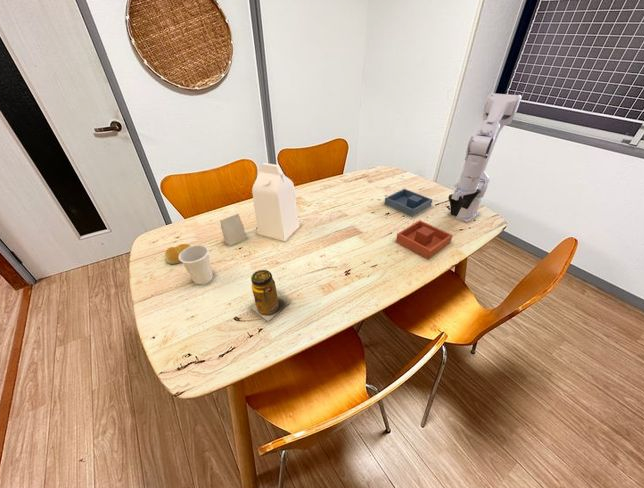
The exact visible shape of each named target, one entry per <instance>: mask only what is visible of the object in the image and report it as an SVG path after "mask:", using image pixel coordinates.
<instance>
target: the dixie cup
mask: <svg viewBox="0 0 644 488" xmlns="http://www.w3.org/2000/svg"><path fill="white" fill-rule="evenodd" d="M179 260H180V261H181V262H180V263H181V264H182V265H183V266H184V268H185V269H186V271H187V273H188V274H189V276H190V277H191V279H192V280H193V282H194V283H195V284H196V285H205V284H207V283H209V282H210V281H212V279H213V278H214V276H213V275H214V274H213V269H212V265H211V260H210V250H209V248H208V247H207V246H206V245H202V244H195V245H190V247H188V248H186V249H184V250H183V251H182V252H181V253H180V254H179Z"/></svg>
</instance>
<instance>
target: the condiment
mask: <svg viewBox="0 0 644 488" xmlns="http://www.w3.org/2000/svg"><path fill="white" fill-rule="evenodd" d="M250 280H251V291H252V294H253V298H254V302H255V304H254V305H253V306H252V307H251V310H253V311H254V312H255V313H256V314H258V315H259V316H260V317H262V318H263V319H264V320H265V321H267V322H269V321H270V320H272V319H273V318H274V317H275V316H277V315H278V314H279V313H280V312H281V311H282V310H284V308H286V307H287V306H289V304H291V301H289V300H288V299H287V298H285V297H283V296H282V295H280V294H279V293H278V291H277V287H276V286H277V285H276V282H275V280H274V278H273V273H271V272H270V271H269V270H266V269H260V270H256V271H255V272H254V273H253V274H251V276H250Z"/></svg>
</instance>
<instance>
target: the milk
mask: <svg viewBox="0 0 644 488" xmlns="http://www.w3.org/2000/svg"><path fill="white" fill-rule="evenodd" d="M251 193H252V200H253V201H252V202H253V207H254V216H255V222H256V230H257V235H259V236H264V237H267V238H271V239H275V240H278V241H282V242H286V241H287V240H288V239H289V238H290V237H291V236H292V235H293V234H294V232H296V230H297V229H299V228H300V226H301V224H300V219H299V211H298V204H297V197H296V190H295V184H294V182H293V180H292V179H290V177H287V176H286V175H285V174H284V173H283V171H282V170H281V167H280V165H279V164H275V163H268V162H263V163H261V166H260V170H259V173H258V175H257V177H256V179H255V181H254V183H253V185H252V189H251Z"/></svg>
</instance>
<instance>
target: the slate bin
mask: <svg viewBox="0 0 644 488" xmlns="http://www.w3.org/2000/svg"><path fill="white" fill-rule="evenodd" d="M413 195H415V196H418V197H421V198H423V199H422V204H421V205H419V206H418V207H416V208H414V209H412V208H409V207H407V206H406V204H407V199H408V198H409V197H411V196H413ZM383 203H384V205H385V206H387V207H390V208H392V209H394V210H396V211H398V212H400V213H403V214H404V215H407V216H409V217H410V218H411V217H412V218H413V217H415V216H416V215H418V214H420V213H421V212H423V211H425V210H427V209H429V208H430V207H432V204H433V199H432V198H430V197H427V196H425V195H421V194H420V193H417V192H415V191H412V190H410V189H406V188H403V189H400V190H398V191H397V192H394V193H392V194H390V195H388V196H385V197H384V202H383Z"/></svg>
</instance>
